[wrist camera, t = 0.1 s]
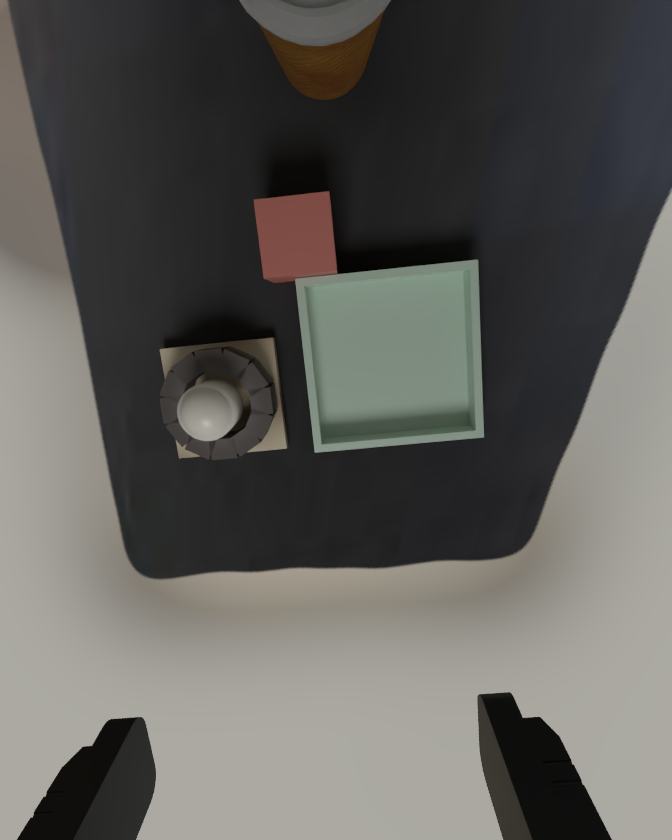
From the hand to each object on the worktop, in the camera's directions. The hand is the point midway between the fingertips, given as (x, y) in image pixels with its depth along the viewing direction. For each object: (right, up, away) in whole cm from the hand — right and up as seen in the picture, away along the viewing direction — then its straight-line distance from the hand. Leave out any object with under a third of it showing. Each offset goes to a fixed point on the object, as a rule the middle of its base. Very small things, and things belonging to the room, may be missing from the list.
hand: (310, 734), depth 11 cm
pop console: (-8, +9, +28) cm, 30 cm away
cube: (-2, +21, +25) cm, 33 cm away
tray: (+5, +12, +27) cm, 30 cm away
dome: (-8, +9, +25) cm, 27 cm away
